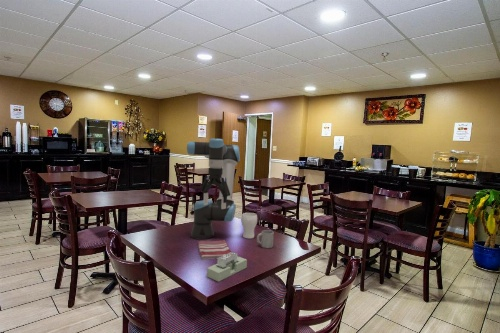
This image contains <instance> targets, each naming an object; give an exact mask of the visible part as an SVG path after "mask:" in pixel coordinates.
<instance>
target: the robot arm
mask: <svg viewBox="0 0 500 333" xmlns="http://www.w3.org/2000/svg"><path fill="white" fill-rule="evenodd" d="M186 152H187V154H188V155H190V156H191V155H192V156H202V157H205V158H206V159H208V169H207V170H208V171H207V172H208V175H207V174H206V175H204V180H203V183H202V185H201V187H200V192H202V198H203V199H202V200H198V201H195V203H194V208H193V226H192V229H191V231H190V237H191V238H192V239H196V240H208V239H211V238H214V237H215V231H214V227H213V224H212V223H213V222H225V223H226V222H229V223H230V222H232V221H234V218H235V214H236V207H237V205H236V203H235V202H234V200H233V191H234V180H235V171H236V170H235V168H236V166H237V165H238V162H241V157H240V156H241V155H240V154H241V153H240V146H239V145H237V144H236V145H235V144H225V143H224V139H222V138H210V139H209V141H188V142H187V144H186ZM213 185H214V186H216V187H218V189H219V195H218V198H217V199H216V202H213V200H212V199H209V190H210V189H211V188H212V186H213Z"/></svg>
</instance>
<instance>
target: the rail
mask: <svg viewBox="0 0 500 333" xmlns="http://www.w3.org/2000/svg"><path fill="white" fill-rule="evenodd" d="M247 265H248V260H247V259H246V258H243V257H241V256H238V255H237V263H236V264H235V269H233V268H232V267H233V263H232V262H227V263H226V268H225V269H222V268H219V267H217V263H216V264H212V265H210V266H208V267H207V268H206V277H207V278H210V279H212V280H214V281H216V282H221V281H223V280H225V279H227V278H229V277H230V276H233V275H235V274H237V273H238V272H241V271H243V270H244V269H246V268H247V267H248V266H247Z"/></svg>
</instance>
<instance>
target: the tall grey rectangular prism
mask: <svg viewBox="0 0 500 333" xmlns="http://www.w3.org/2000/svg"><path fill="white" fill-rule="evenodd" d="M237 256H238V253H237V252H234V251H231V252H230V253H228V254H225V255H223V256H220V257H218V258H217V263H216V264H217V267H219V268H222V269H225V268H226V263H227V262H232V263H233V267H232V268H233V269H235V264H236V263H237Z"/></svg>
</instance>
